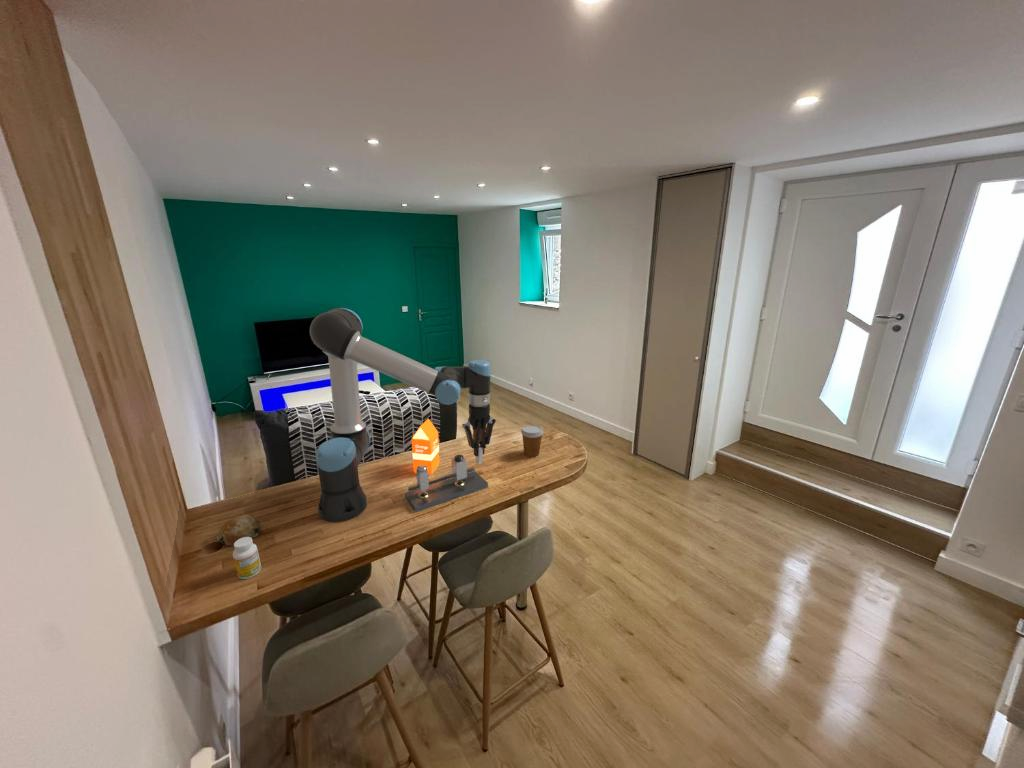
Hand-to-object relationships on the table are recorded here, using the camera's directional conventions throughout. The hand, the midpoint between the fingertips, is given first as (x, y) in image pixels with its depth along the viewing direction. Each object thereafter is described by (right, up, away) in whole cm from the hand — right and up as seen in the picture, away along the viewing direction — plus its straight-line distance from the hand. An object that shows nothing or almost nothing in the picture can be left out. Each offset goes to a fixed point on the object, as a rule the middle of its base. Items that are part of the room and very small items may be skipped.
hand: (479, 462), depth 148 cm
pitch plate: (-11, -10, -5) cm, 16 cm away
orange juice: (-22, -5, +12) cm, 25 cm away
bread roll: (-70, -17, -28) cm, 77 cm away
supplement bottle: (-58, -21, -42) cm, 75 cm away
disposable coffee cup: (+21, -1, +24) cm, 32 cm away
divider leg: (-7, -6, -3) cm, 10 cm away
